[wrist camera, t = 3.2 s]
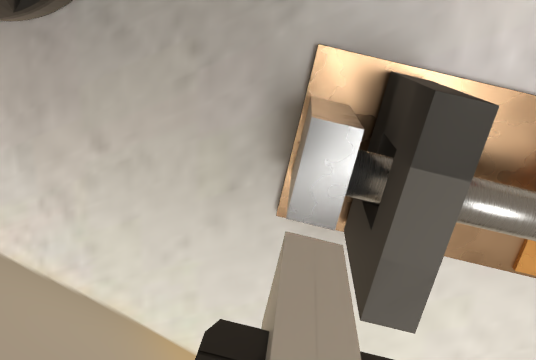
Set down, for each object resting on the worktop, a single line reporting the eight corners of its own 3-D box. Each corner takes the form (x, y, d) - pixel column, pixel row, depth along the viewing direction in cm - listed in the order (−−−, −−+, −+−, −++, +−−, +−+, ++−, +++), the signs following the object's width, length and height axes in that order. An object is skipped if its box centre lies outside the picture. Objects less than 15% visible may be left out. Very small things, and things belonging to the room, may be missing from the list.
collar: (343, 230, 30) (360, 320, 21) (390, 71, 27) (435, 90, 18) (381, 239, 30) (414, 333, 21) (432, 81, 27) (499, 105, 18)
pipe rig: (277, 210, 32) (266, 271, 24) (318, 44, 29) (322, 47, 21) (613, 291, 32) (722, 382, 24) (693, 132, 29) (852, 172, 20)
